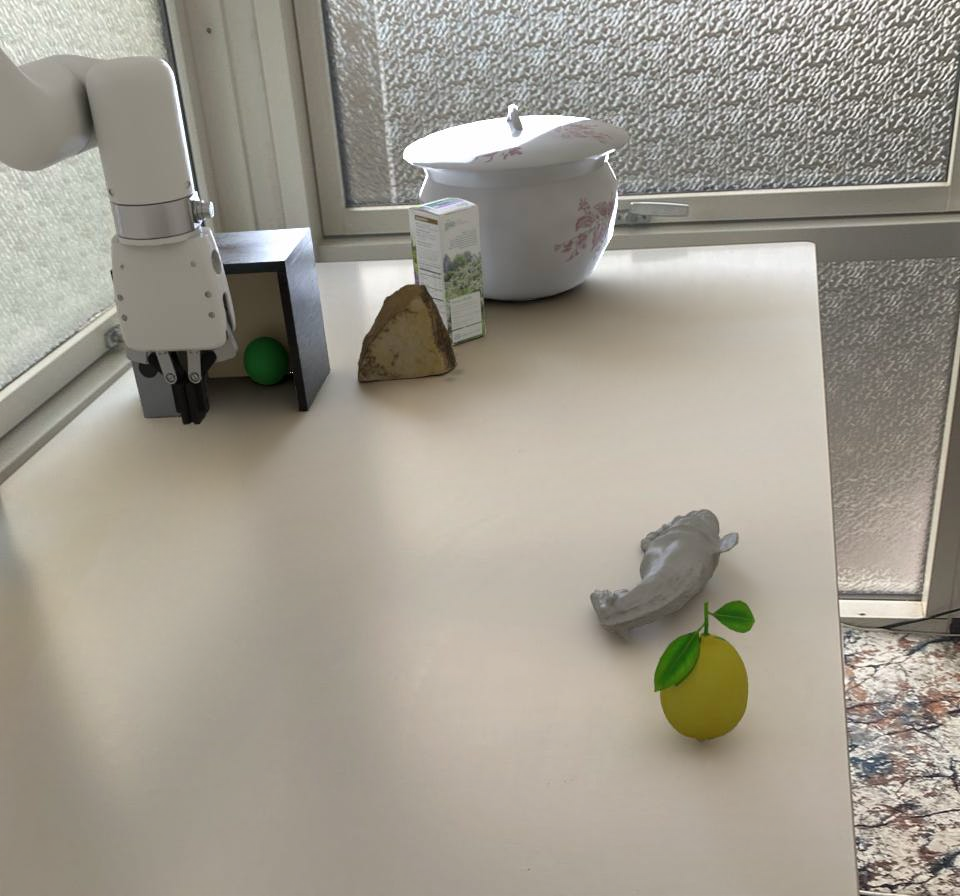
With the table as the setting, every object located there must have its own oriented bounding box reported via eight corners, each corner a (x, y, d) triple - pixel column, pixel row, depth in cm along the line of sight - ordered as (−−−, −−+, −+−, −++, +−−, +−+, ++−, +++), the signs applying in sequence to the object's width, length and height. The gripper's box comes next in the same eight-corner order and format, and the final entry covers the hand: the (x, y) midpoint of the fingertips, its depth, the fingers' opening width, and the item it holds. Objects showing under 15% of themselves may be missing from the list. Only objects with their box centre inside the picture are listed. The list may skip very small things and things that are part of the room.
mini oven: (141, 421, 142) (106, 273, 133) (177, 376, 153) (147, 237, 144) (306, 414, 140) (282, 263, 131) (330, 369, 151) (310, 227, 142)
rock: (334, 370, 143) (417, 361, 139) (338, 290, 143) (421, 279, 139) (382, 402, 153) (461, 395, 149) (386, 327, 153) (465, 318, 149)
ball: (245, 328, 147) (256, 370, 151) (232, 352, 144) (244, 394, 148) (288, 327, 146) (298, 369, 150) (275, 350, 143) (286, 393, 147)
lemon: (749, 711, 88) (757, 574, 82) (761, 761, 84) (770, 619, 78) (648, 716, 89) (648, 580, 83) (654, 766, 84) (654, 625, 78)
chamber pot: (520, 333, 156) (508, 136, 143) (373, 296, 173) (352, 116, 160) (678, 274, 170) (680, 90, 157) (528, 245, 187) (519, 76, 174)
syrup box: (456, 326, 160) (445, 195, 151) (488, 336, 156) (478, 201, 147) (419, 339, 157) (405, 205, 148) (450, 348, 153) (438, 212, 145)
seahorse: (591, 522, 111) (572, 603, 94) (725, 471, 107) (731, 546, 90) (613, 578, 113) (598, 667, 96) (745, 530, 110) (754, 614, 92)
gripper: (247, 204, 122) (277, 404, 133) (89, 211, 123) (133, 407, 134) (227, 225, 116) (261, 432, 127) (62, 232, 117) (110, 435, 129)
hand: (195, 419), depth 131 cm, fingers closed
